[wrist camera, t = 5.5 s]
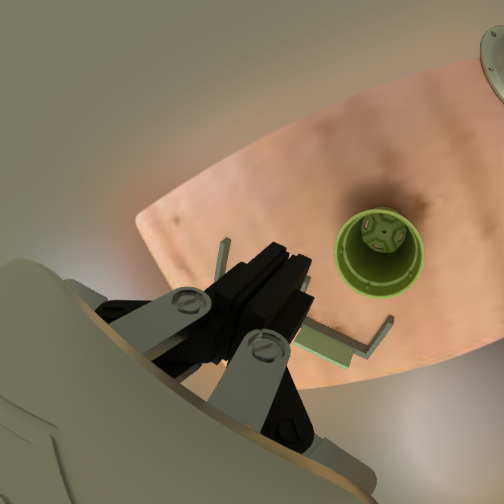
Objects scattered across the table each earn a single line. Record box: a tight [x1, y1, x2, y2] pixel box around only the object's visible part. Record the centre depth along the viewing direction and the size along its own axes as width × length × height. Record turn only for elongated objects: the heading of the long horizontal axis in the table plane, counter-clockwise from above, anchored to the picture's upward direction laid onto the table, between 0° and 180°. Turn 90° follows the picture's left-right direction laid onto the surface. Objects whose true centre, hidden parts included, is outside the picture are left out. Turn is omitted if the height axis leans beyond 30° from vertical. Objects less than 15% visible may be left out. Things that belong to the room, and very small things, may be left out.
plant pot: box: [334, 206, 425, 299], centre depth 28 cm, size 9×9×9 cm
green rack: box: [214, 238, 394, 370], centre depth 39 cm, size 8×28×6 cm, turn 77°
